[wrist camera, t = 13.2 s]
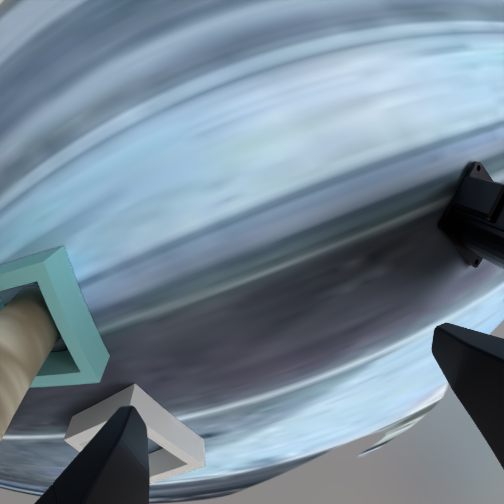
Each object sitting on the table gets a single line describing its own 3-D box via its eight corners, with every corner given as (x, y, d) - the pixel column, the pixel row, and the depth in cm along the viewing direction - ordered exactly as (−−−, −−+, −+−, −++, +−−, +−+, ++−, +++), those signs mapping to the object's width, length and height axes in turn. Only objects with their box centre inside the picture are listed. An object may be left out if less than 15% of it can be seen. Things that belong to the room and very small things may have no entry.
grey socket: (135, 383, 22) (128, 410, 19) (204, 439, 24) (205, 465, 22) (72, 416, 22) (63, 439, 19) (138, 464, 25) (135, 487, 22)
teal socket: (64, 245, 18) (43, 261, 15) (109, 356, 21) (99, 382, 18) (-19, 271, 17) (-41, 287, 14) (26, 365, 20) (12, 387, 17)
